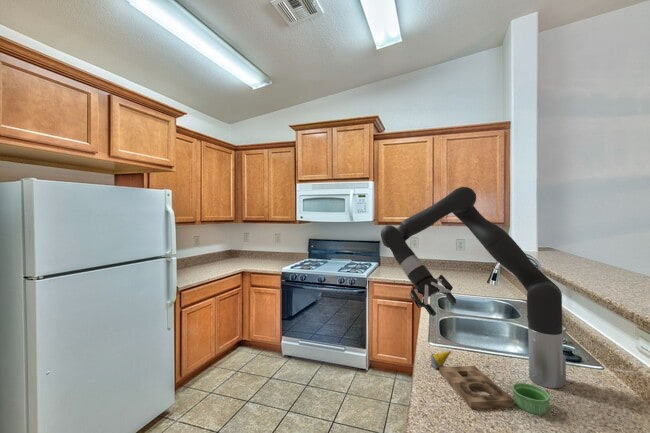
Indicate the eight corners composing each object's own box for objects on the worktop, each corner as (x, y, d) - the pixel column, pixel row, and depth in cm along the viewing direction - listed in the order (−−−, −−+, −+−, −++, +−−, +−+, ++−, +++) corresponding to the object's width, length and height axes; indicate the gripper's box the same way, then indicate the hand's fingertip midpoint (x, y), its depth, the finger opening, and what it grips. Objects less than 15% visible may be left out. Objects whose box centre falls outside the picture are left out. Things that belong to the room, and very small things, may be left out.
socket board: (474, 371, 106) (474, 365, 106) (514, 406, 86) (514, 399, 86) (439, 372, 105) (439, 367, 105) (471, 409, 85) (471, 402, 85)
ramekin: (531, 418, 81) (530, 402, 81) (505, 399, 90) (504, 384, 90) (558, 414, 82) (557, 398, 83) (529, 395, 91) (529, 381, 91)
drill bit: (431, 362, 113) (452, 348, 110) (437, 375, 108) (458, 360, 105) (422, 356, 111) (443, 341, 109) (427, 369, 107) (449, 353, 104)
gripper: (428, 267, 113) (457, 304, 104) (397, 283, 109) (424, 322, 100) (433, 257, 107) (465, 296, 98) (401, 274, 103) (430, 315, 94)
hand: (444, 309), depth 99 cm, fingers open, 8 cm apart
